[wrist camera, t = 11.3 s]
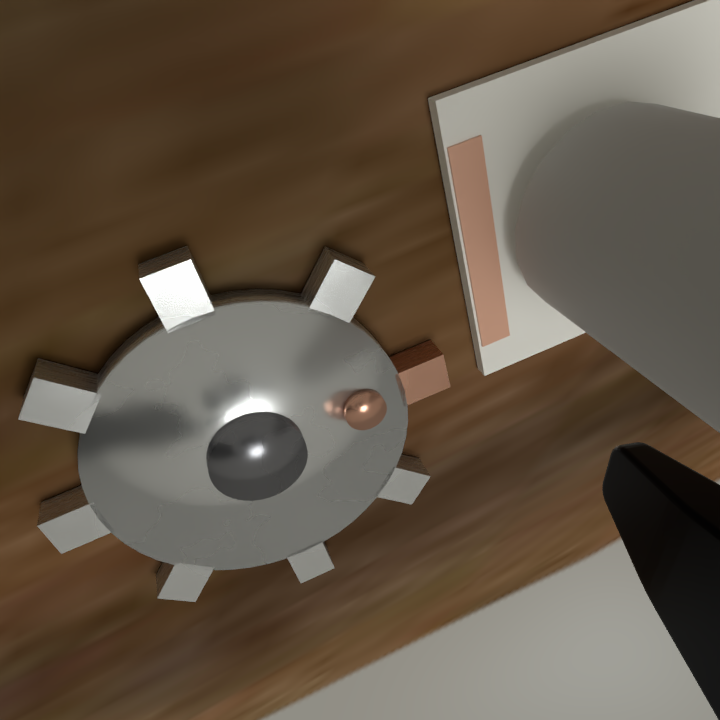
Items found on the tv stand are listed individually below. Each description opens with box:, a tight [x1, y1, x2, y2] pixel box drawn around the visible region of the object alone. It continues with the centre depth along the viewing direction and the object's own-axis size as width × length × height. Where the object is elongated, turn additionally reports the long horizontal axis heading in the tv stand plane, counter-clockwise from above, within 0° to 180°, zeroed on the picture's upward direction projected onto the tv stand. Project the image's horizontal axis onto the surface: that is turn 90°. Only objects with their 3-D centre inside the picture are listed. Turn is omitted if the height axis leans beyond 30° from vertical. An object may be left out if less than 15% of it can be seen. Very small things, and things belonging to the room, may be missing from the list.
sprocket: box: [18, 246, 450, 602], centre depth 23 cm, size 16×16×2 cm
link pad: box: [428, 0, 720, 376], centre depth 23 cm, size 11×11×1 cm
